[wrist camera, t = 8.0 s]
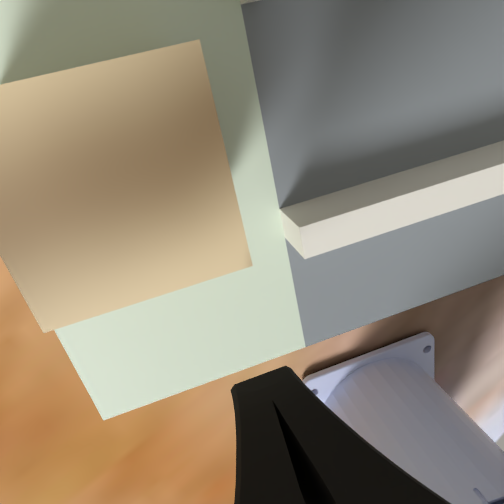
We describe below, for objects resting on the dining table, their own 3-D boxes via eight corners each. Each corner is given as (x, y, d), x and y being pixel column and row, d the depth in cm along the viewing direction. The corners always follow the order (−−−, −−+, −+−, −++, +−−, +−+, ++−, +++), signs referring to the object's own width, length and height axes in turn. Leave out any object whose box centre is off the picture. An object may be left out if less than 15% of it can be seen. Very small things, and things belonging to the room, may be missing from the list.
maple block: (214, 204, 14) (252, 265, 10) (70, 246, 14) (43, 333, 9) (173, 49, 12) (199, 39, 8) (-2, 89, 11) (-85, 103, 7)
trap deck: (639, 193, 24) (742, 218, 20) (106, 379, 19) (100, 461, 15) (769, -332, 14) (1008, -481, 11) (-198, -221, 10) (-415, -413, 6)
